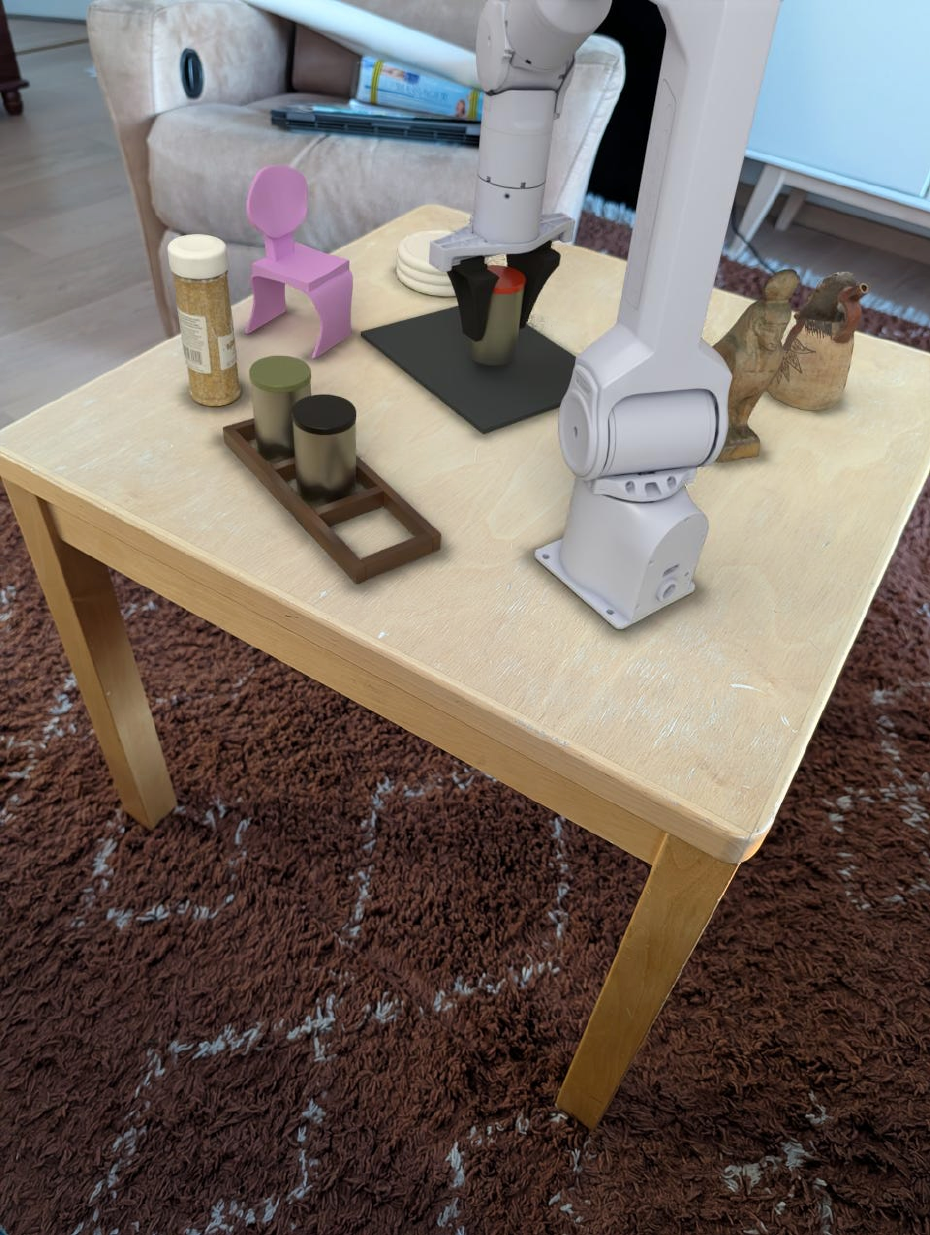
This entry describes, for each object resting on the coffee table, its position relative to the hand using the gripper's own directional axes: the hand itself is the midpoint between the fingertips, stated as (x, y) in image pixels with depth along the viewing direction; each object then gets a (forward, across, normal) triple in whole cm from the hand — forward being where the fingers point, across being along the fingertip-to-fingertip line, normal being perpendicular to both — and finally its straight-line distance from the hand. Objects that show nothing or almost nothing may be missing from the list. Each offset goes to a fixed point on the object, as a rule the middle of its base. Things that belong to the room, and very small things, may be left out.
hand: (494, 330), depth 85 cm
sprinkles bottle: (+5, +24, -9) cm, 26 cm away
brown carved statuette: (+5, -12, +17) cm, 21 cm away
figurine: (+5, -25, +18) cm, 31 cm away
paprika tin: (+2, 0, 0) cm, 2 cm away
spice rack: (+4, +23, +8) cm, 25 cm away
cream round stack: (+5, -8, -19) cm, 21 cm away
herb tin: (+4, +23, +2) cm, 23 cm away
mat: (+4, -1, -2) cm, 5 cm away
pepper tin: (+4, +23, +8) cm, 25 cm away
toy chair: (+5, +12, -15) cm, 20 cm away
